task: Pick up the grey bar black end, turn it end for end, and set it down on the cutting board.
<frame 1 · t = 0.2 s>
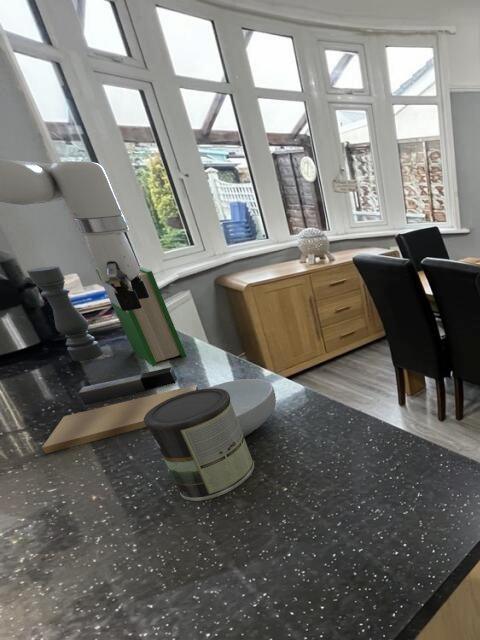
hand: (136, 303, 89), 20 cm above the kitchen counter, tool pointing down, fingers open, 9 cm apart
cereal bowl: (234, 431, 76), on the kitchen counter
cutting board: (131, 418, 81), on the kitchen counter
coffee can: (219, 478, 65), on the kitchen counter
grey bar black end: (133, 390, 92), on the kitchen counter
hardback book: (159, 354, 111), on the kitchen counter
candle holder: (88, 356, 111), on the kitchen counter
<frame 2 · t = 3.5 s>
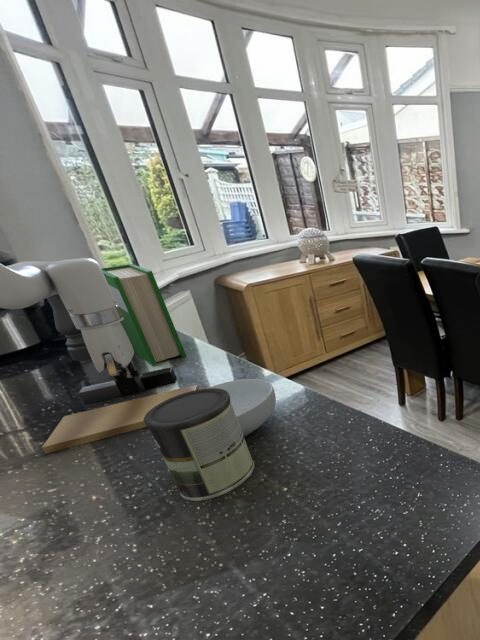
hand: (133, 389, 92), 0 cm above the kitchen counter, tool pointing down, fingers closed on grey bar black end, 3 cm apart
grey bar black end: (133, 390, 92), on the kitchen counter, touching gripper
everything else where it was.
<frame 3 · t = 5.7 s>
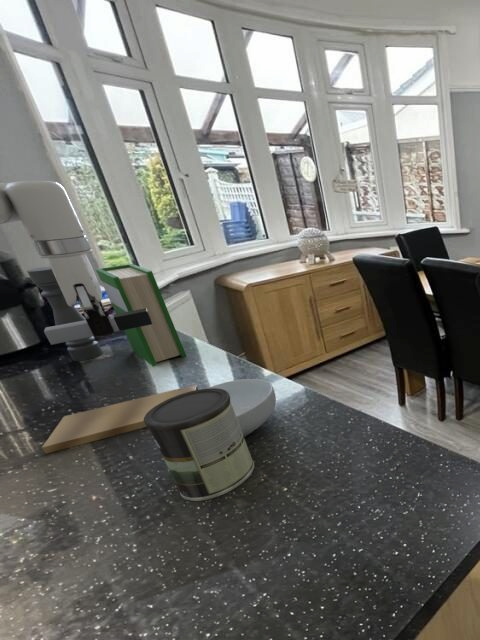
hand: (104, 331, 86), 15 cm above the kitchen counter, tool pointing down, fingers closed on grey bar black end, 3 cm apart
grey bar black end: (104, 332, 86), point 15 cm above the kitchen counter, touching gripper
everything else where it was.
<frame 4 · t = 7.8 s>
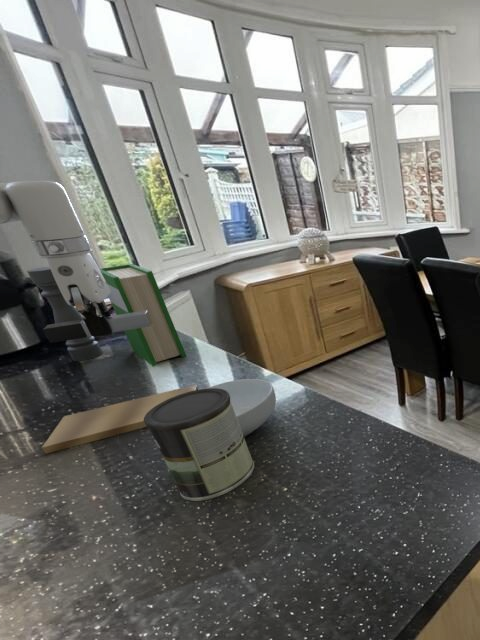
hand: (104, 331, 86), 15 cm above the kitchen counter, tool pointing down, fingers closed on grey bar black end, 3 cm apart
grey bar black end: (104, 332, 86), point 15 cm above the kitchen counter, touching gripper
everything else where it was.
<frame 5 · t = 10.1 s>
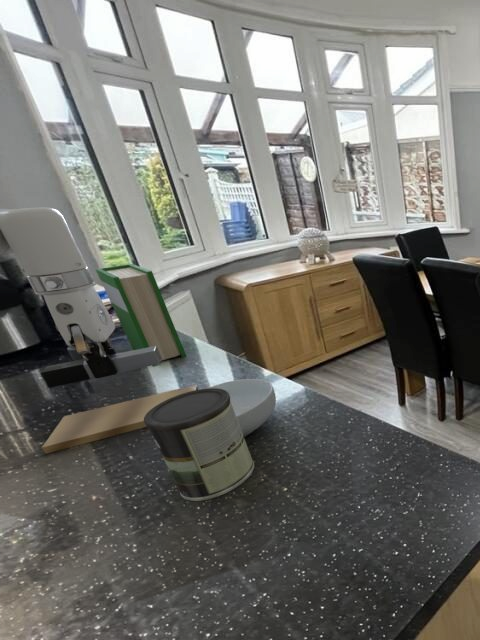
hand: (108, 371, 77), 11 cm above the kitchen counter, tool pointing down, fingers closed on grey bar black end, 3 cm apart
grey bar black end: (109, 372, 77), point 11 cm above the kitchen counter, touching gripper
everything else where it was.
when the fingers open (2 cm above the kitchen counter, at t = 12.4 s): grey bar black end stays where it is, resting on cutting board.
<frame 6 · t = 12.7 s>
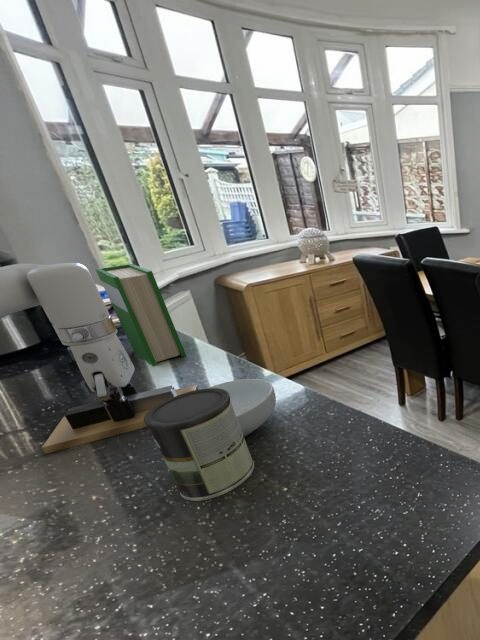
hand: (128, 411, 81), 2 cm above the kitchen counter, tool pointing down, fingers open, 5 cm apart
grey bar black end: (128, 412, 81), point 1 cm above the kitchen counter, touching cutting board
everything else where it was.
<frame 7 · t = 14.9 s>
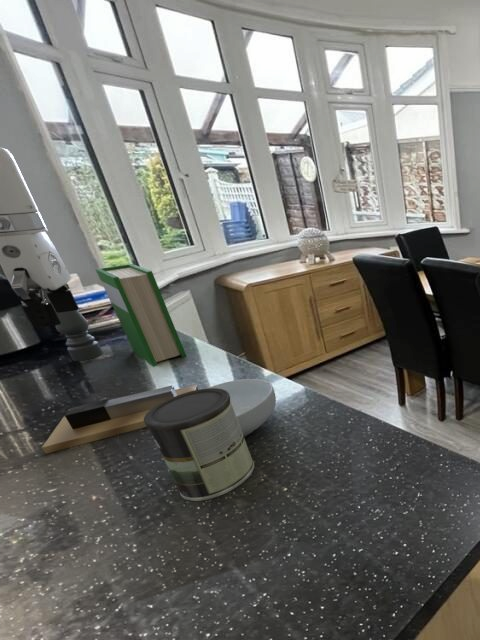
hand: (59, 318, 74), 22 cm above the kitchen counter, tool pointing down, fingers open, 9 cm apart
nothing on the kitchen counter moved.
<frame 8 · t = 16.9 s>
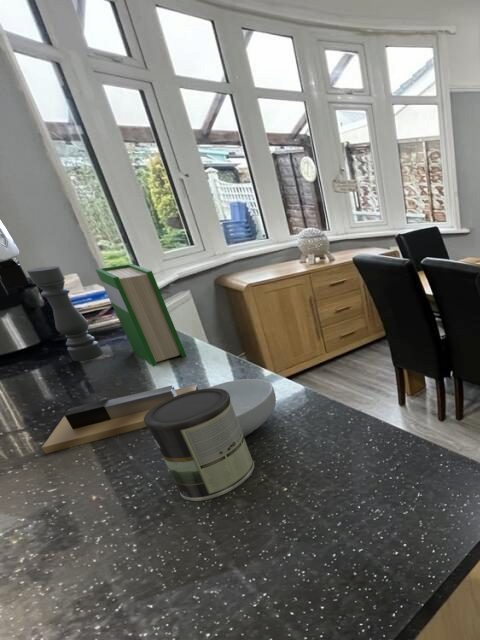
hand: (7, 291, 76), 26 cm above the kitchen counter, tool pointing down, fingers open, 9 cm apart
nothing on the kitchen counter moved.
at the end: grey bar black end inside the target area (0.0 cm from its centre), point 1.5 cm above the kitchen counter; grey bar black end tilted 0°; the gripper is holding nothing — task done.
